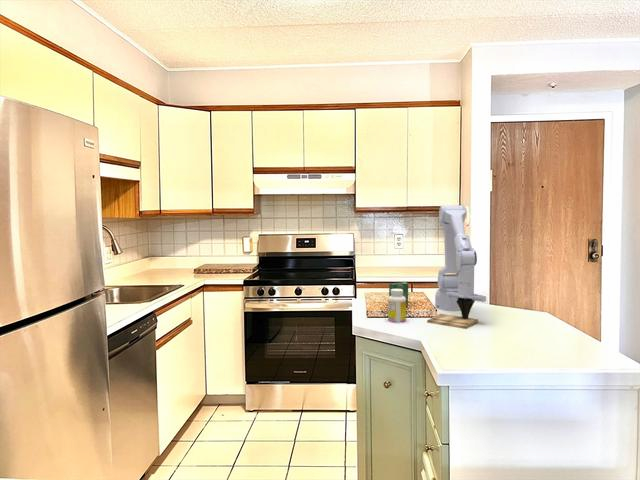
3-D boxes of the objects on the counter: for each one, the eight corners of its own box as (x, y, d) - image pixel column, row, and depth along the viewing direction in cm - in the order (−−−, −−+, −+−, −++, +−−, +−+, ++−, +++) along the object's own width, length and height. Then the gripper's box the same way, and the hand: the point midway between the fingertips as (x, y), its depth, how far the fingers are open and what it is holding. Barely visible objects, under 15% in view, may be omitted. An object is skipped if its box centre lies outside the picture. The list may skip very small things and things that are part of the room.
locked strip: (427, 322, 179) (427, 319, 179) (429, 321, 180) (429, 318, 180) (466, 329, 169) (466, 326, 169) (468, 327, 171) (468, 325, 171)
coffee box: (404, 312, 199) (404, 281, 198) (408, 314, 196) (408, 282, 195) (388, 315, 195) (388, 283, 194) (392, 316, 192) (392, 284, 191)
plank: (430, 320, 181) (430, 318, 181) (440, 316, 187) (440, 313, 187) (469, 327, 172) (469, 324, 171) (478, 322, 178) (478, 319, 178)
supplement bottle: (405, 321, 185) (405, 288, 184) (406, 325, 179) (406, 291, 178) (387, 320, 186) (387, 288, 185) (388, 325, 179) (388, 291, 178)
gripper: (443, 282, 180) (442, 317, 181) (481, 286, 171) (480, 323, 172) (451, 279, 185) (450, 314, 186) (488, 283, 176) (487, 319, 177)
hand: (465, 318), depth 179 cm, fingers closed, pressing on plank
